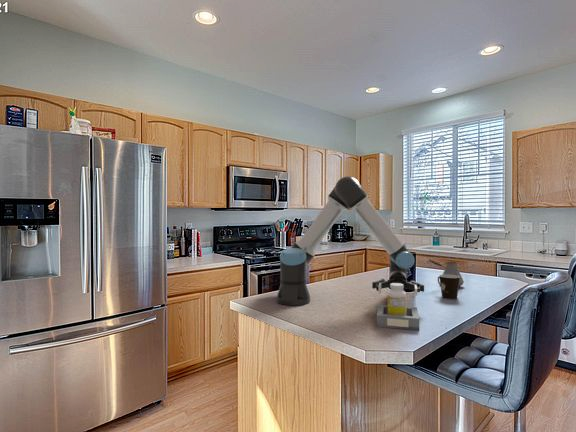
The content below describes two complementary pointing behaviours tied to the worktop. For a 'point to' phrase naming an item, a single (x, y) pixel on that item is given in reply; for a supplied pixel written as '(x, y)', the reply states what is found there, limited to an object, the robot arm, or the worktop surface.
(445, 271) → the coffee pot
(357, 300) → the worktop surface
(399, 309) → the supplement bottle
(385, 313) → the pocket tray
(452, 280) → the coffee mug
